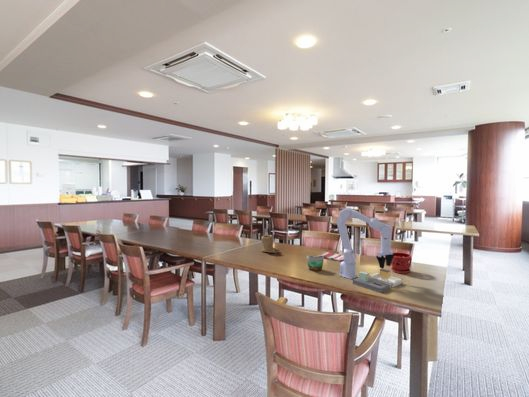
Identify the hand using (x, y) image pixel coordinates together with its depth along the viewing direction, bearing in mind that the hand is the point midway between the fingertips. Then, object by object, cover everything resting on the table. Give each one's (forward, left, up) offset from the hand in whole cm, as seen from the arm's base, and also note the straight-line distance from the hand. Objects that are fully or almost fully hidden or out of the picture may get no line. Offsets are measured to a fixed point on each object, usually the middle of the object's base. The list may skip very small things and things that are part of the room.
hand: (385, 266), depth 172 cm
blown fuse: (0, 0, -9) cm, 9 cm away
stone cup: (-100, -10, -10) cm, 101 cm away
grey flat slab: (-1, -14, -9) cm, 17 cm away
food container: (-41, -17, -10) cm, 45 cm away
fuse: (-5, -14, -9) cm, 18 cm away
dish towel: (-54, +21, -10) cm, 59 cm away
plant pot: (-4, +27, -10) cm, 29 cm away
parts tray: (0, 0, -9) cm, 9 cm away
